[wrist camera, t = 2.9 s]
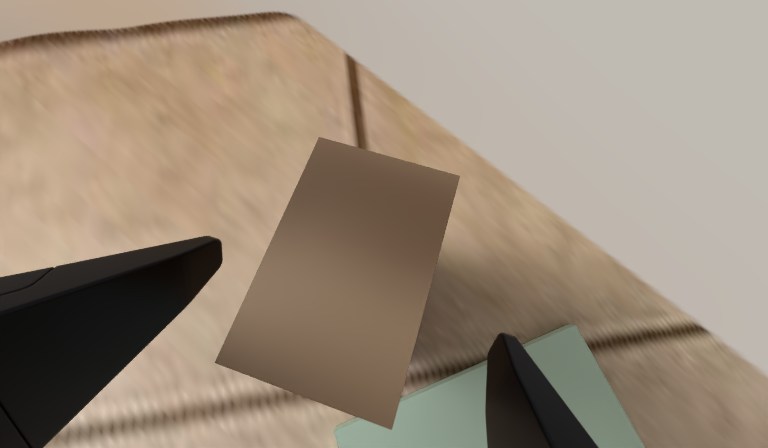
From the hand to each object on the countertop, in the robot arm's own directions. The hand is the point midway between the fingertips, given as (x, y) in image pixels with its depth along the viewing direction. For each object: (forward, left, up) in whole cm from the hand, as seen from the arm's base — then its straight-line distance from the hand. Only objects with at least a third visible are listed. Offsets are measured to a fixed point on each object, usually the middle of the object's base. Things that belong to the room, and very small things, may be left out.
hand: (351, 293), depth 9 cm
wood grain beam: (0, 0, -9) cm, 9 cm away
